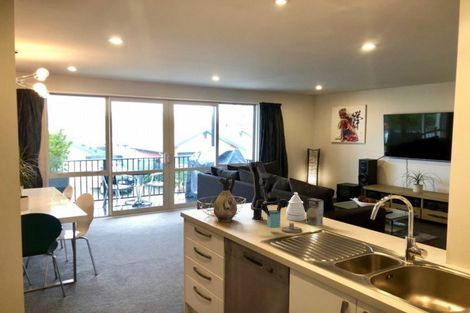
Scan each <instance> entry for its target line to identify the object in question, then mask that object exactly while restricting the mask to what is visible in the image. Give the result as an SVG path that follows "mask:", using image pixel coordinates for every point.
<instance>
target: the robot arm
mask: <svg viewBox="0 0 470 313" xmlns="http://www.w3.org/2000/svg"><path fill="white" fill-rule="evenodd" d="M248 168H249V172H250V173H251V174H252V179H253V182H252V184H253V194H254V195H253V198H252V201H251V204H250V210H252V212H253V214H252V215H253V217H251V219H252V220H263V218H264V217H263V216H262V215H263V214H262V212H264V213H265V214H266V216H267V215H268V216H270V214H269V207H268V206H277V207H276V210H278V211H279V212H280V213H281V210H282V209H283V208H286V207H287V206H288V204H289V201H288V199H286V198H283V199H282V198H280V197H281V191H280V190H276V191H274V188H275V186H276V184H277V178H276V177H274V176H273V175H271V174H268V173H267V170H266V169H265V166H264V162H263V161H261V160H257V161H250V163H249V164H248ZM261 188H262V189H261ZM262 192H263V195H264V196H263V195H262ZM278 198H280V199H279V201H277V200H278Z"/></svg>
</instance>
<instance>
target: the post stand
mask: <svg viewBox="0 0 470 313" xmlns="http://www.w3.org/2000/svg"><path fill="white" fill-rule="evenodd" d="M294 224H295V223H294V222H289V224H288V226H286V225H285V226H283V227H280V228H281V231H282V232H283V233H285V234H299V233H302V231H303V230H302V228H301V227H299V226H295V225H294Z"/></svg>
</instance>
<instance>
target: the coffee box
mask: <svg viewBox="0 0 470 313" xmlns="http://www.w3.org/2000/svg"><path fill="white" fill-rule="evenodd" d="M323 220H324V200H323V199H319V198H315V197H310V198H306V211H305V223H306V224H307V225H310V226H311V225H312V226H316V227H319V226H322V225H323V224H324V223H323V222H324V221H323Z"/></svg>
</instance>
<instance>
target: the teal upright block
mask: <svg viewBox="0 0 470 313" xmlns="http://www.w3.org/2000/svg"><path fill="white" fill-rule="evenodd" d="M268 210H269V209H268ZM269 214H270V216H268V215H267V214H266V218H267V219H266V226H267V227H268V228H270V229H277V228H278V229H279V228H281V212H279V211H278V210H277V209H276V210H275V209H272V210H269Z"/></svg>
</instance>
